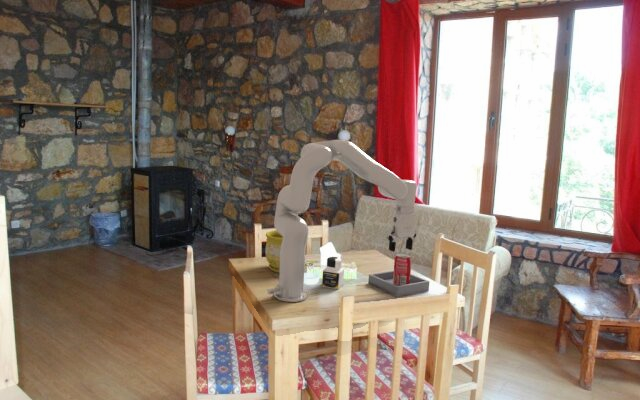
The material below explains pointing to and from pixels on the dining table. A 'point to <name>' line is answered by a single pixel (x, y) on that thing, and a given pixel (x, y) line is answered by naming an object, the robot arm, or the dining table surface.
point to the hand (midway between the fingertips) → (400, 249)
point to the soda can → (402, 269)
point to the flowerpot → (273, 250)
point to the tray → (386, 284)
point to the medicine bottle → (333, 273)
